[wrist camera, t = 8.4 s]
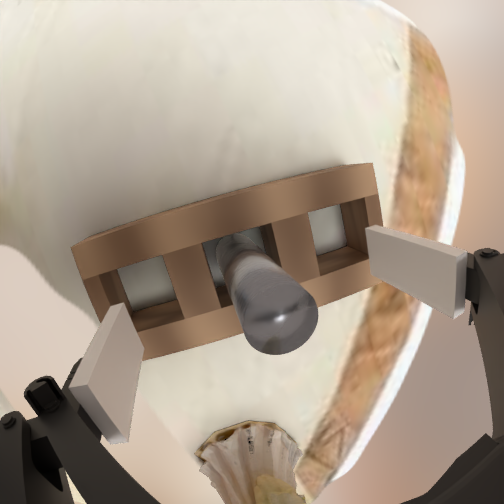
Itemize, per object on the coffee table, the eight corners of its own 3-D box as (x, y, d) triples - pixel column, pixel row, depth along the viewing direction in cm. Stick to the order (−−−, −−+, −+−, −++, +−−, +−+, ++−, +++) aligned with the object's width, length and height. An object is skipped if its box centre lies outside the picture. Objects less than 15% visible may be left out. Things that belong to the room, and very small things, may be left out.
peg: (221, 276, 23) (254, 364, 11) (210, 239, 22) (233, 299, 10) (258, 264, 23) (322, 339, 12) (249, 228, 22) (311, 274, 11)
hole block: (130, 339, 22) (122, 365, 18) (89, 236, 20) (70, 247, 16) (362, 266, 25) (388, 279, 21) (345, 165, 23) (372, 162, 19)
